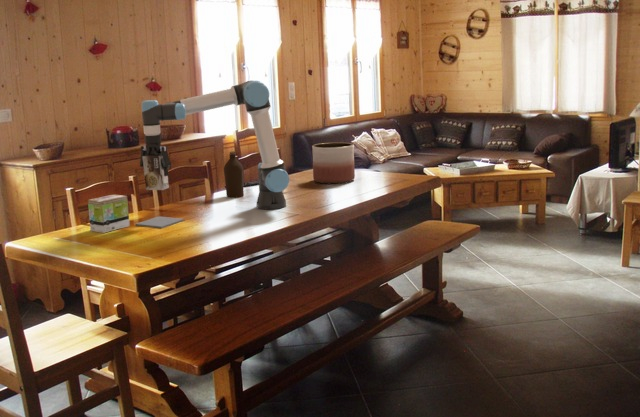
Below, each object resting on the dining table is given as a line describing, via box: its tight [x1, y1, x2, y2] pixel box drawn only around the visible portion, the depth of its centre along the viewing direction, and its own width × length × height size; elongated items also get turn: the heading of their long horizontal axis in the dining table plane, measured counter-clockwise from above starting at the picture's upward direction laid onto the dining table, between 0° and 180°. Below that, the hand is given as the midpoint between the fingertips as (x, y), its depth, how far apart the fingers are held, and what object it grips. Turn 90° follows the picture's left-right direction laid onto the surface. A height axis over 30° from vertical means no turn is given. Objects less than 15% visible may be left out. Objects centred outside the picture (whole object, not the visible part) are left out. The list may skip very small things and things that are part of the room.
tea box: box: [87, 194, 130, 234], centre depth 310 cm, size 15×10×15 cm
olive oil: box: [223, 150, 245, 199], centre depth 373 cm, size 11×11×25 cm
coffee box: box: [142, 155, 170, 191], centre depth 314 cm, size 9×6×16 cm
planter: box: [311, 142, 356, 185], centre depth 410 cm, size 25×25×22 cm
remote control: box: [224, 180, 259, 189], centre depth 409 cm, size 8×32×2 cm, turn 125°
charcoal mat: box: [135, 216, 186, 229], centre depth 319 cm, size 16×16×1 cm
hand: (156, 182), depth 315 cm, fingers closed on coffee box, 10 cm apart
